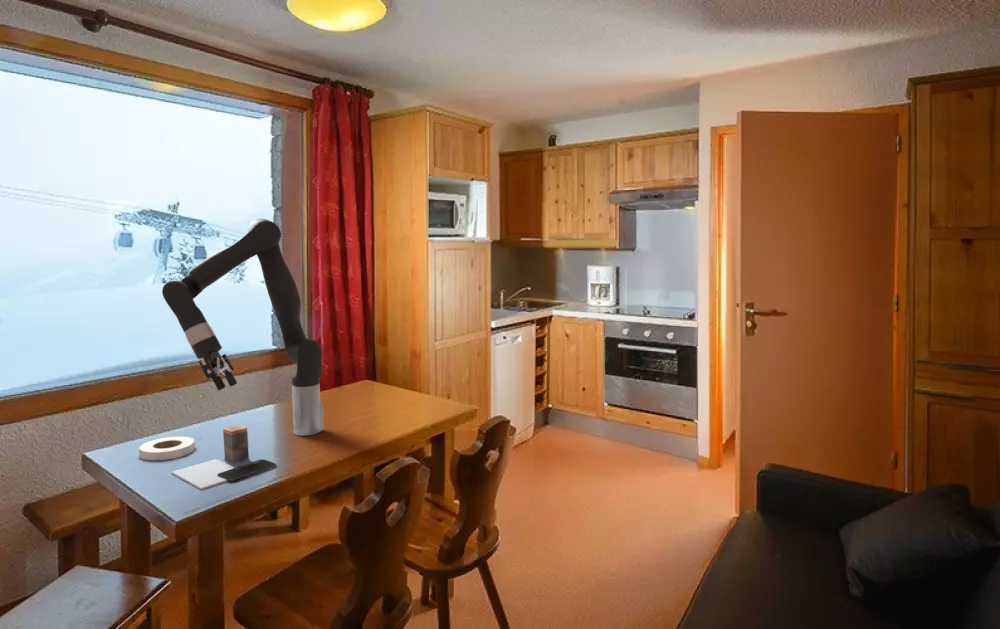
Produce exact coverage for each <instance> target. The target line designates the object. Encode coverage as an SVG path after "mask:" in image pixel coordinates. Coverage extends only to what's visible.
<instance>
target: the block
mask: <svg viewBox="0 0 1000 629" xmlns="http://www.w3.org/2000/svg"><path fill="white" fill-rule="evenodd" d="M222 430H223V447H224V448H223V449H224V452H223V453H224V460H225V461H226V462H227V463H231V464H233V465H234V464H237V463H241V462H244V461H247V460H250V458H249V457H250V456H249V453H250V452H249V438H248V437H249V436H248V427H246V426H244V425H242V424H236V425H231V426H229V427H228V426H227V427H224V428H222Z"/></svg>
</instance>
